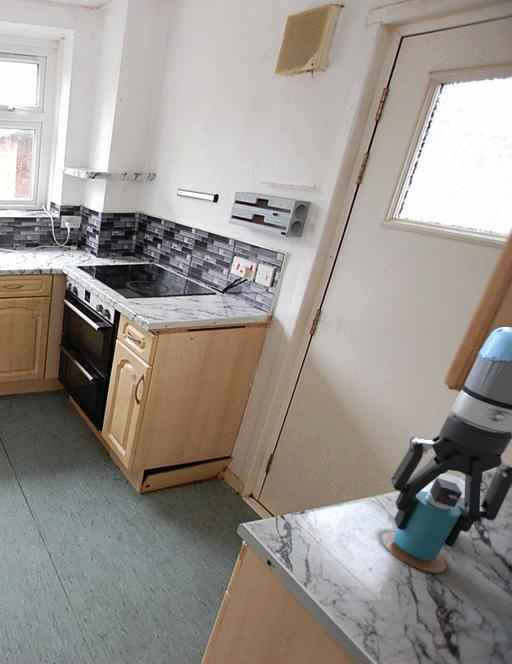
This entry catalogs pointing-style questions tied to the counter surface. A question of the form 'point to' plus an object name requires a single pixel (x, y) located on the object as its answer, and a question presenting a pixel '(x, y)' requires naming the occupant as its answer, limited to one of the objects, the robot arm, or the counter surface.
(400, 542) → the spray bottle
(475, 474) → the robot arm
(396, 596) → the counter surface
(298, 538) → the counter surface
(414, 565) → the coaster
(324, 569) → the counter surface
